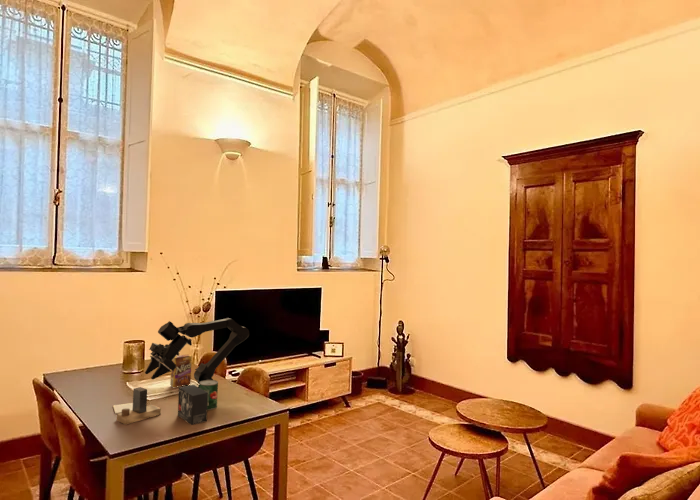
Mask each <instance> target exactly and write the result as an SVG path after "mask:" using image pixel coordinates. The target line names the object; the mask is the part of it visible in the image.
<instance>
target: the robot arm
mask: <svg viewBox="0 0 700 500" xmlns="http://www.w3.org/2000/svg"><path fill="white" fill-rule="evenodd" d="M226 328H228V329H229V330H230V331H231V332H230V334H229V337H228V339H227V341H225V343H224V344H223V345H222V346H221V347H220V348H219V349H218V351H217V352H216V353H215V354H214V355H213V356H212V357H211V358H210V359H209V360H208V362H206V363H203V362H201V363H200V364H199V366H198V367H196V368H195V369H194V370H195V371H194V373H193V378H194V380H195V381H196V382H197V384H198V386H197V387H199V386H200V384H199V383H200V382H201V381H204V380H214V379H213V376H214V374H215V371H216V369H217V368H218V367H219V366H220V365H221V363H222V362H223V361H224V360H225V359H226V358H227V356H228V355H229V354H230V353H231V352H232V351H233V350H234V349H235V347H236V346H238V345H239V344H241V343H243V342H244V341H245V340H247V339H248V338H249V336H250V331H249V328H247V327H245V326H242V325H240V324H239V323H238V322H236V321H235V320H234V319H232V318H229V317H226V318H223V319H218V320H212V321H207V322H186V323H184V324H183V325H181V326H176V325H175V324H174V323H173V322H172V321H170V320H169V321H168V322H167V323H164V324H163V325H161V326H160V327H159V328H158V331H157V333H158V334H159V335H160V336H161V337H162V338H164V340H166V341H170V343H167V344H163V343H159V344H158V343H155V342H152V343H151V345H150V348H149V349H148V350H149V351H151V352H150V354H149V355H150V356H149V357H150V362H149V364H148V366H147V368H146V370H145V371H144V373H145V375H148V374H150V373H152V372H153V371H154V370H155V371H154V373H153V375H151V377H150V378H151V380H155V379H157V378H159V377H161V376H164V375H166V374H167V373H169V372H170V373H171V370H172V371H173V370H174V369H175V368H176V364H175V363H174V362H173V361H172V360H173V359H174V357H175V356H179V355H180V352H181V351H182V349H184V347H185V346H186V345H189V346H193V345H192V344H193V343H192V338H195V337H198V336H200V335H202V334H204V333H206V332H211V331H216V330H221V329H226Z"/></svg>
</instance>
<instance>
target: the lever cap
mask: <svg viewBox="0 0 700 500" xmlns="http://www.w3.org/2000/svg"><path fill="white" fill-rule="evenodd" d="M147 401H148V389H146V388H143V387H141V386H140V387H135V388H133V394H132V403H133V411H134V412H137V413H139V414H140V413H143V412H146V407H147V406H148V405H147V404H148V403H147Z"/></svg>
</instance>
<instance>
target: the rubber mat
mask: <svg viewBox="0 0 700 500" xmlns="http://www.w3.org/2000/svg"><path fill="white" fill-rule="evenodd" d="M112 406H113V410H114V414H115V415H117V414H119V413H122V409H130V411H131V410H133V402H129V403H121V404H114V405H112Z"/></svg>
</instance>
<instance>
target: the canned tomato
mask: <svg viewBox="0 0 700 500" xmlns="http://www.w3.org/2000/svg"><path fill="white" fill-rule="evenodd" d="M199 384H200V386H199V388H201V389H202V390H204V391H206V392H208V398H207V411H211V410H212V411H213V410H216V409H217V407H218V388H219V381H218V380H215V379H213V380H204V381H201V382H200V383H199ZM199 384H198V385H199Z"/></svg>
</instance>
